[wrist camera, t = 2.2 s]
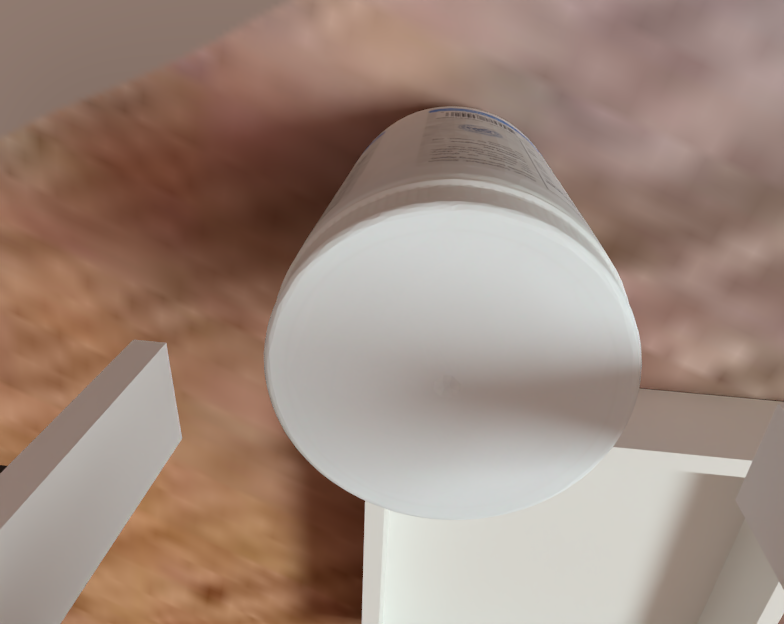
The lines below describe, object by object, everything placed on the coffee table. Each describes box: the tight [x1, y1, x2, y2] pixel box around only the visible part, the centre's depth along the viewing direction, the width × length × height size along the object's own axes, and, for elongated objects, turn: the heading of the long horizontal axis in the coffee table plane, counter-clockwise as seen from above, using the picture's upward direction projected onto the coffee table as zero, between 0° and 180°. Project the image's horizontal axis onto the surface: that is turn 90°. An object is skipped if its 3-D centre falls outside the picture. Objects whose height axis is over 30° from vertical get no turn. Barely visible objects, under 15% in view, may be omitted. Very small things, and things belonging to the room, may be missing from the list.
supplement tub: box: [264, 106, 642, 520], centre depth 21 cm, size 10×10×15 cm
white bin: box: [362, 388, 784, 624], centre depth 34 cm, size 22×22×5 cm
